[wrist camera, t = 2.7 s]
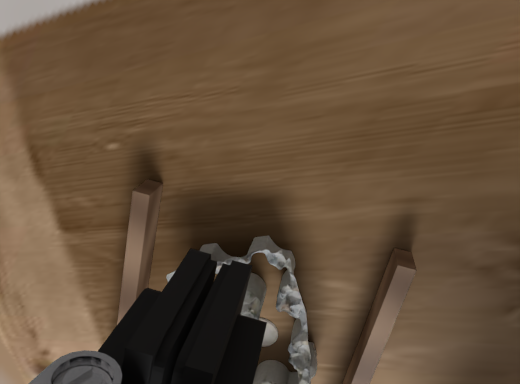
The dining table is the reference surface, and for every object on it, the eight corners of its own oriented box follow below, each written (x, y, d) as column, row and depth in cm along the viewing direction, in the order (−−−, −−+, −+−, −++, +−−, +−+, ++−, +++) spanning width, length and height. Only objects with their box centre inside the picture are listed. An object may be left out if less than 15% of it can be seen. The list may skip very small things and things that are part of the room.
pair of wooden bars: (147, 179, 27) (132, 190, 25) (411, 252, 26) (416, 270, 24) (124, 357, 32) (110, 377, 30) (342, 425, 31) (341, 451, 29)
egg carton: (323, 372, 30) (320, 423, 26) (216, 374, 32) (199, 422, 28) (299, 228, 27) (291, 263, 23) (181, 239, 28) (156, 272, 25)
